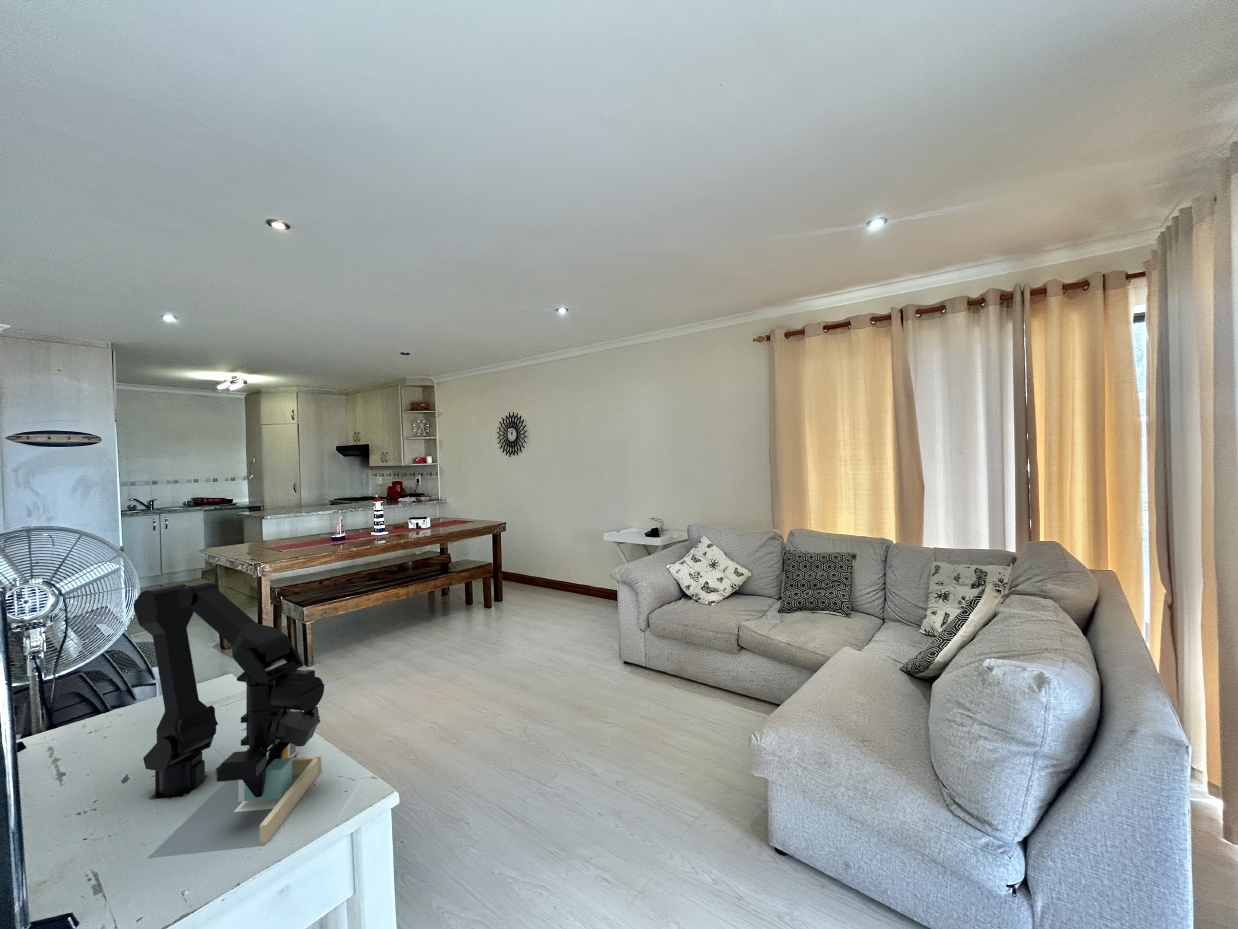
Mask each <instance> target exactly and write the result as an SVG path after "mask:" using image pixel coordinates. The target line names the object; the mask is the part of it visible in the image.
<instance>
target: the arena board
mask: <svg viewBox="0 0 1238 929" xmlns="http://www.w3.org/2000/svg"><path fill="white" fill-rule="evenodd" d="M321 772H322V755H312V756H299V757H298V756H297V757H293V758H292V785H291V786H290V787H289V788H288V790H287V791H286V792H285V793H284V795H283V796H282V797H281V798H275V799H264V800H252V801H243V802H238V790H239V780H232V781H224V783H222V785H221V786H220V787H219V788H218V789H217V790H216V791H215V792H214V793H213V794H211V796H209V797H208V799H206V801H205V802H203V804H202V805H200V806H199V807H198V808H197V809H196V810H195V811H194V812H193V813H192V814H191V815H190V816H189V817H188V818H187V819H186V820H185V821H184V822H183V823H182V824H181V825H180V826H178V828H176V830H175V831H174V832H172V833H171V835H169V837H167V838H166V839H165V840H164V841H163V842H162V843H161V844H160V845H159V846H158V847H157V848H156V849H155V850H154V851H153V852H152V853H151V854H149V856H148V857H147V859H153V858H162V857H163V858H164V857H170V856H171V857H172V856H178V855H179V856H180V855H190V854H199V853H200V854H201V853H209V852H211V853H212V852H218V851H227V850H238V849H247V848H249V849H250V848H255V847H256V848H257V847H265V846H266V844H267V843H268V842H269V841H270V839H271V838H272V837H273V836H274V834H275V833H276V832H277V830H278V829H279V827H280V826H281V825H282V824H283V822H284V821H285V819H286V818H287V817H288V816H289V814H290V813H291V811H292V810H293V809H294V807H295V806H296V805H297V804H298V803H299V801H300V800H301V798H302V797H303V795H304V794H305V793H306V792H307V790H308V789H309V787H311V785H312V784H313V782H314V781H315V780H316V778H317V777H318V775H319V774H320V773H321Z"/></svg>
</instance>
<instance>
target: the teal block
mask: <svg viewBox="0 0 1238 929" xmlns="http://www.w3.org/2000/svg"><path fill="white" fill-rule="evenodd" d="M291 785H292V758H284V759H275V760H274V761H273V762H272V763H271V764H270V765H269V766H268V767H267V769H266V777H265V784H264V790H263V795H262V796H261V797H255V796H254V795H253V794H252V792H251V791H250V790H249V788H248V787H247V786H246V784H245V783H244V782H243V780H239V790H238V802H243V801H252V800H264V799H275V798H281V797H282V796H283V795H284V793H285V792H286V791H287V790H288V788H289V787H290V786H291Z"/></svg>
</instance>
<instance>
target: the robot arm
mask: <svg viewBox="0 0 1238 929" xmlns="http://www.w3.org/2000/svg"><path fill="white" fill-rule="evenodd" d="M133 602H134V603H133V611H134V613H135V615H136V619H137V622H138V625H139V626H140V627H141V628H142V629H143V630H145V631H146V632H147V633H148V634H150V635H151V636H152V639H153V646H154V652H155V658H156V664H157V669H158V676H159V684H160V688H161V693H162V700H163V701H162V702H163V705H164V713H163V715H162V716H161V719H160V721H159V723H158V726H157V727H156V743H155V744H154V745H153V747H152V748H151V749H150V750H148V752H147V753H146V754H145V756H143V763H144V767H145V770H148V771H149V770H150V771H154V775H155V776H154V777H155V778H154V784H155V785H154V786H155V787H154V788H155V789H154V791H155V792H154V793H153V794H152V795H151V796H150V797H148V800H159V799H161V800H162V799H171V798H181V797H186V796H188V795H189V794H190V793H192V791H194V790H195V789H197V788H198V787H199V786H200V785H201V784H202V783H204V782H205V780H206V779H207V778H208V777H209V775H205V774H206V770H205V769H206V767H205V766H206V763H205V762H206V761H205V760H204V759H203V751H205V750H207V749H209V748H211V746H212V743H213V740H214V738H215V737H214V736H215V735H216V734H217V726H218V725H219V723H218V721H217V719H216V718H217V717H216V708H215V706H213V705H208V706H207V705H206V704H205V703H204V702H202V701H201V700H200V698H199V693H198V686H197V681H196V676H195V670H194V664H193V656H192V651H191V650H192V649H191V646H190V638H189V635H188V626H189V623H190V621H191V620H192V617H193V615H194V613H195V614H196V615H197V616H198V617H199V618H201V620H203V621H204V623H206V624H207V625H209V627H210V628H212V629H213V630H214V631H215V632H216V633H218V634H219V635H220V637H222V638H223V639H224V640H225V641H227V643H228V644H229V645H230V647H231V656H232V658H233V659H234V661H235V662H236V663H237V665H238V666H239V667H240V668H241V669H242V670H243V672H242V673H241V674H240V675H238V676H237V678H236V682H240V683H241V682H242V683H246V685H245V686H246V691H245V692H246V697H245V698H246V705H245V706H246V710H245V711H246V712H245V713H244V714H243V715H242V716H241V717H240V724H246V725H245V726H246V730H245V731H246V734H245V736H244V737H243V738H242V739H240V746H241V747H244V746H248V748H247V749H246V750H243V751H242V750H241V751H234V752H232V754H230V755H229V756H228V757H227V758H226V759H225V760H223V761H222V762H221V763H220V764H219V765H218V766H217V767H216V768H215V780H216V782H217V783H218V782H226V781H232V780H243V782H244V783H245V784H246V786H247V787H248V788H249V790H250V791H251V792H252V794H253V795H254V796H255V797H261V796H262V795H263V790H264V784H265V777H266V769H267V767H268V766H269V765H270V764H271V763H272V762H273V761H274V760H275V759H282V757H283V754H284V751H285V749H286V747H287V746H288V745H289V744H290V743H291V744H294V745H295V746H297V747H299V748H300V747H304V746H306V744H307V743H308V741H310V740H311V738H313V737H314V734H315V732H316V730H317V726H318V725H319V723H321V718H320V717H321V716H320V714H319V713H320V712H319V707H318V704H320V702H321V700H322V698H323V696H324V692H325V684H324V682H323V680H322V679H321V678H320V677H319V676H316V671H315V669H306V670H305V669H301V668H302V667H304V663H303V661H302V659H301V655H299V653H298V652H297V651H296V649H295V647H294V646H293V644H292V643H291V642H292V641H291V640H290V638H289V637H288V635H287V634H285V633H284V632H282V631H281V630H279V629H277V628H276V627H273V626H270V625H265V624H262V623H258V622H256V621H255V620H253V618H251V617H250V616H249V615H248V614H246V612H244V611H243V610H242V609H241V608H240V607H239V606H237V605H236V604H235V602H234V603H233V602H232V600H230V599H229V598H228V597H227V596H226V595H225V594H224V593H222V592H221V591H220V590H219V586H218V585H217V584H216V583H214V582H212V581H211V582H210V581H205V582H200V583H195V584H191V585H187V584H184V583H182V582H181V583H179V582H178V583H175V584H174V583H173V584H170V585H166V586H160V587H155V588H150V589H146V590H143V591H141V592H140V593H139V595H138V596H137V598H136V599H134V601H133ZM284 661H285V663H283V662H284ZM280 663H282V664H280ZM278 664H280V665H278ZM277 665H278V666H277ZM273 666H275V667H274V668H272V667H273ZM269 668H272V669H269ZM291 710H297V711H291Z"/></svg>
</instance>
